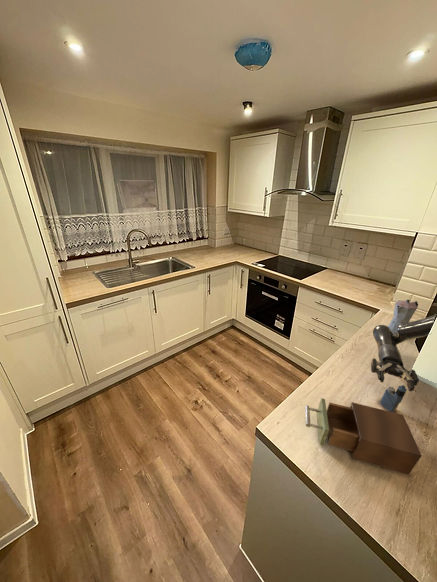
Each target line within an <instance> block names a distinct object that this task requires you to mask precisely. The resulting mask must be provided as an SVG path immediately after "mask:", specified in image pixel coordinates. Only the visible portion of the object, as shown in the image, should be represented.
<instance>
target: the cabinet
mask: <svg viewBox="0 0 437 582" xmlns="http://www.w3.org/2000/svg"><path fill="white" fill-rule="evenodd" d="M349 407H350V408H352V410H353V414H354V417H355V421H356V425H357V429H358V433H359V437H360V438H359V441H358V443H357V445H356V447H355V449H354V451H350V455H351V458H352V459H353V460H357V461H361V462H364V463H368V464H371V465H374V466H378V467H381V468H384V469H388V470H392V471H394V472H397V473H401V474H405V475H408V476H409V475H410V474H411V472H412V471H413V469H414V468H415V467H416V465H417V463H418V462H419V461H420V460H421V458H422V456H423V455H422V453H421V450H420V448H419V446H418V444H417V443H416V439H415V438H414V436H413V433H412V432H411V429H410V427H409V425H408V423H407V421H406V419H405V415H404V414H401V413H399V412H390V411H388V410H387V409H382V408H377V407H373V406H370V405H366V404H361V403H357V402H353V401H352V402H350V405H349Z"/></svg>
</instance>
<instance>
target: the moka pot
mask: <svg viewBox="0 0 437 582" xmlns="http://www.w3.org/2000/svg"><path fill="white" fill-rule="evenodd" d="M418 307H419V303H418V301H417V300H416V301H411V300H410V299H406V300H397V301H396V302H395V304H394V309H393V317H392V318H391V320H390V322H389V324H388V325H387V326H388V327H389V328H390V330H391V331H392V333H393V334H394V335H397V334H398V331H397V326H398V325H400V324H404V323H408V322H411V319H412V318H413V316H414V314H415V313H416V311H417V309H418Z"/></svg>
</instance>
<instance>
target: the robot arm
mask: <svg viewBox="0 0 437 582" xmlns="http://www.w3.org/2000/svg"><path fill="white" fill-rule="evenodd" d="M436 315H437V313H435V314H433V315H430V316H426V317H425V318H421V319H417V320H413V321H409V322H408V323H404V324H400V325H398V326H397V331H398V334H397V335H395V334H393V333H392V331H391V330H390V328H389V327H388V326H389V325H385V324H378V325H375V327H374V328H373V329H372V336H373V338H374V340H375V343H376V344H377V345H376V346H377V356H378V360H379V361H378V360H377V359H376V358H372V360H371V362H370V371H371V373H373V374H374V373H375V374H376V376H377V379H378V380H379V382H380V383H384V381H385V375H386V374H387V375H389V376H393V377H397V378H398V379H399V380H401V381H403V382H405V384H406V386H407V387H406V388H407V389H408V391H409V392H413V391H415V388H416V387H417V386H418V384H419V382H420V378H419V376H418V374H417V372H416V370H415V369H410V370H408V369H406V367H405V366H404V365H405V364H404V362H403V358H402V355H401V353H400V350H399V347H398V345H400V344H402V343H404V342H407V341H409V340H413V339H419V338H424V337H427V336H429V335H430V334H429V332H430V330H431V327H432V325H433V323H434V320H435V317H436ZM428 334H429V335H428ZM378 366H379V368H378Z"/></svg>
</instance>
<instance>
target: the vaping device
mask: <svg viewBox="0 0 437 582" xmlns="http://www.w3.org/2000/svg"><path fill="white" fill-rule="evenodd" d="M407 389H408V388H407V387H406V386H405V385H404V384H402V385H398V386H397V388H396V389H395V388H394V387H393V386H388V387H387V388H385V390H384V392H383V395H382V397H381V399H380V401H379V402H380V405H381V406H382V407H383V408H384V409H385V410H386V411H390V412H394V413H396V410H397V409H398V407H399V406H400V405H399V404H400V403H402V401H403V399H404V397H405V395H406V393H407Z"/></svg>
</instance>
